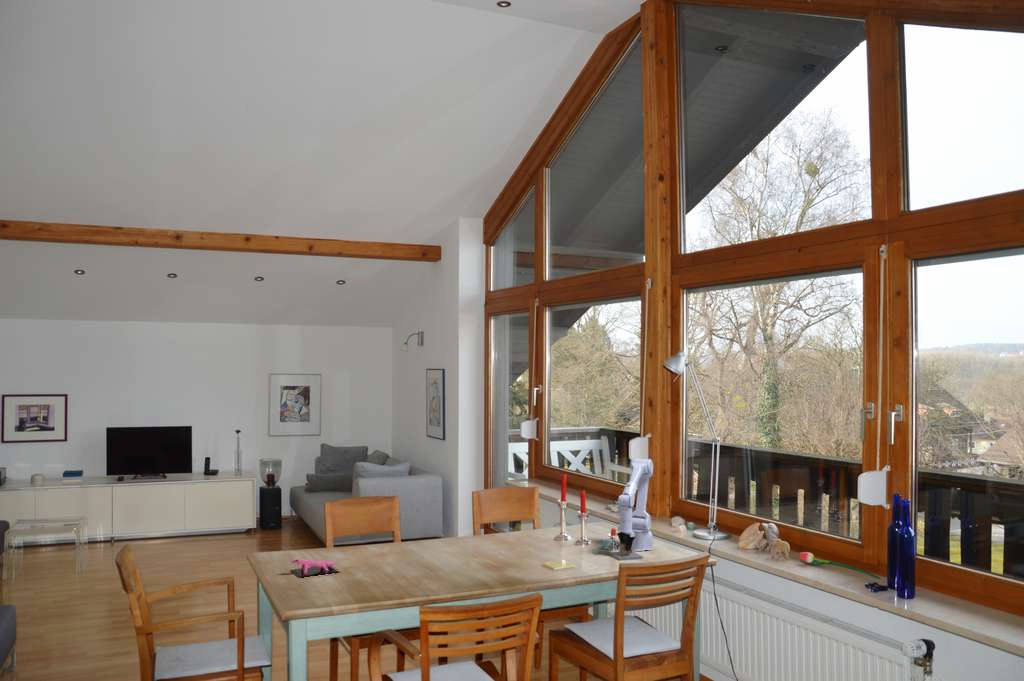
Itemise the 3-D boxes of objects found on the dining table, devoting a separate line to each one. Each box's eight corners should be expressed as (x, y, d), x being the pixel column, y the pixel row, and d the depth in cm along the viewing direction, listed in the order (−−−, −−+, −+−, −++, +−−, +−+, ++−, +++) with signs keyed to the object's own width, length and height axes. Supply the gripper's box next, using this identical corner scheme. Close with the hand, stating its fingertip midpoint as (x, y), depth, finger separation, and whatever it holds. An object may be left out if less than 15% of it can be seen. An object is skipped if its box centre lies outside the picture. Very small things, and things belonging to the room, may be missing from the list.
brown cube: (628, 551, 392) (628, 542, 392) (632, 553, 388) (632, 544, 388) (619, 551, 391) (619, 543, 391) (623, 553, 386) (623, 545, 386)
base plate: (632, 553, 397) (632, 550, 397) (643, 558, 385) (643, 556, 385) (609, 554, 393) (609, 552, 393) (619, 560, 382) (619, 558, 382)
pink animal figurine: (286, 572, 358) (286, 555, 358) (331, 567, 368) (331, 550, 368) (296, 580, 345) (296, 563, 345) (342, 574, 356) (342, 557, 356)
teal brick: (610, 547, 409) (610, 539, 409) (614, 549, 405) (614, 541, 405) (602, 548, 408) (602, 539, 408) (606, 550, 403) (606, 541, 403)
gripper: (611, 517, 395) (611, 546, 395) (624, 523, 381) (624, 553, 381) (625, 517, 397) (625, 545, 397) (638, 522, 384) (638, 552, 383)
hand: (625, 549), depth 389 cm, fingers closed on brown cube, 4 cm apart
